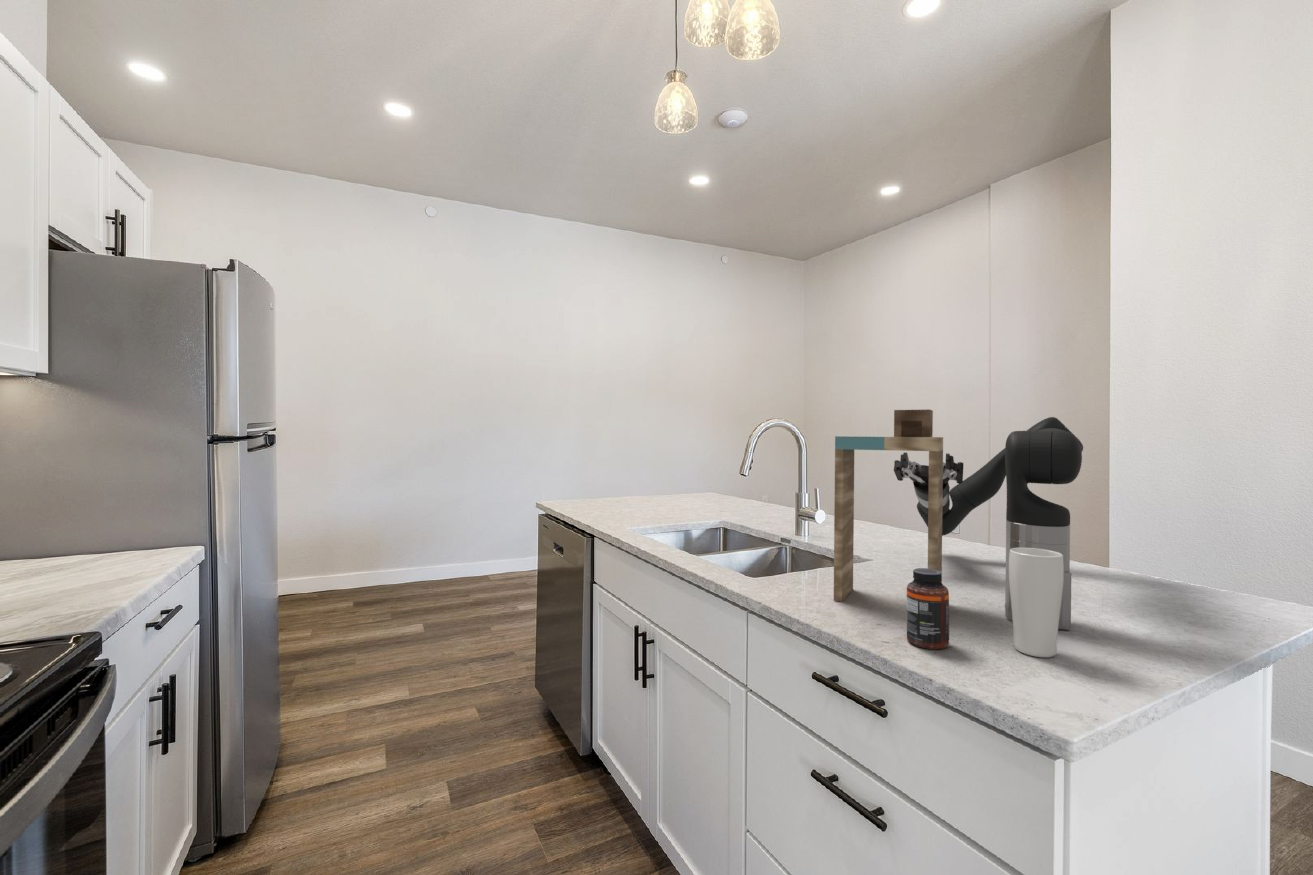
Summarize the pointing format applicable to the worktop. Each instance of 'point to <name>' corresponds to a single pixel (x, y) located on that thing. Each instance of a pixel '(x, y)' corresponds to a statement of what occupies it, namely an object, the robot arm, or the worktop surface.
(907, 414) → the brown wooden block
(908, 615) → the supplement bottle
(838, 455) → the oak stand
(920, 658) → the worktop surface
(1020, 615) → the white tall cup
